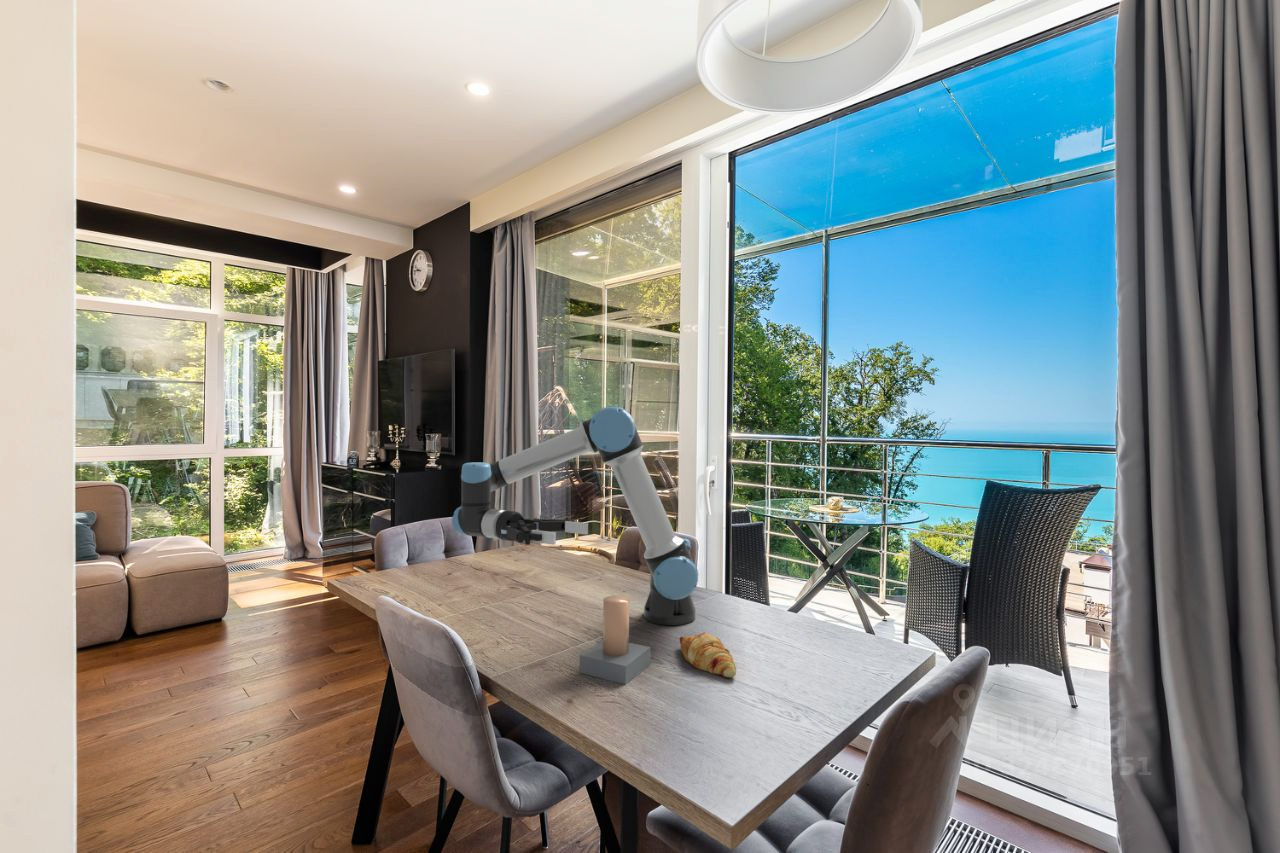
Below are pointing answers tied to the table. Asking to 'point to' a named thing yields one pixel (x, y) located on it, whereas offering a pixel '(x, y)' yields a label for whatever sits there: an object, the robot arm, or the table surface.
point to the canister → (615, 625)
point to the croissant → (708, 654)
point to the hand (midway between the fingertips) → (571, 533)
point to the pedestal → (615, 663)
